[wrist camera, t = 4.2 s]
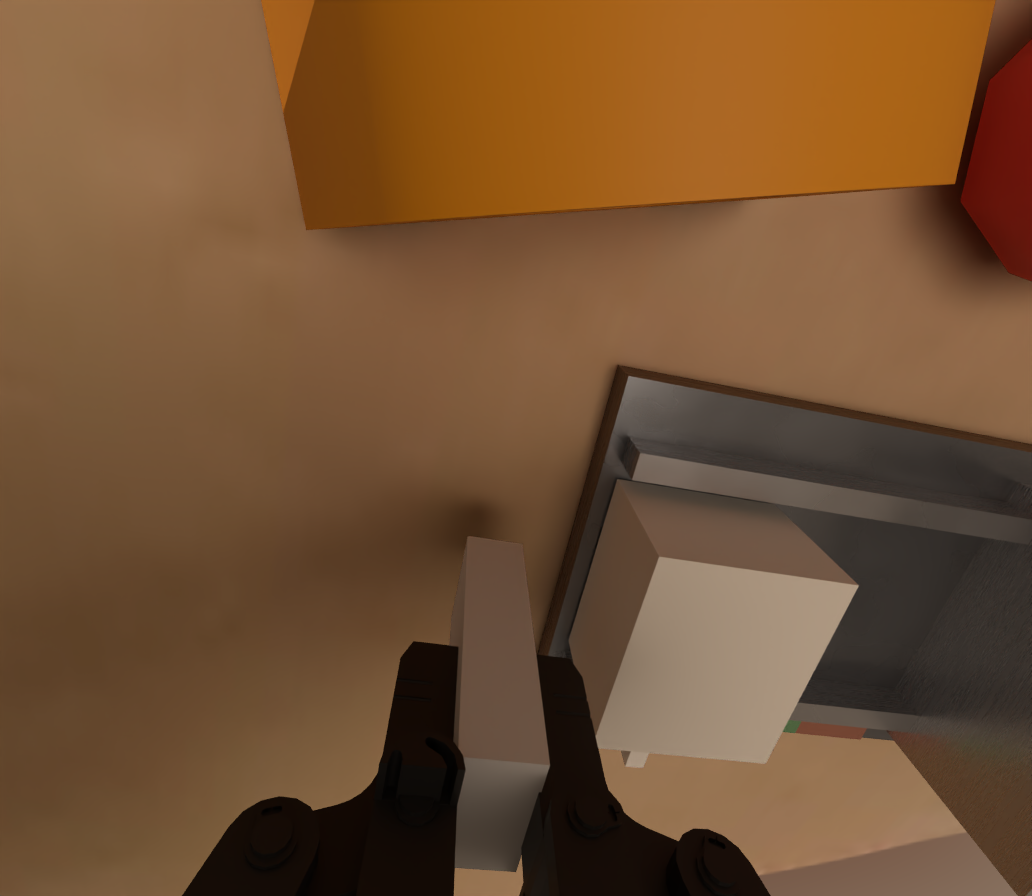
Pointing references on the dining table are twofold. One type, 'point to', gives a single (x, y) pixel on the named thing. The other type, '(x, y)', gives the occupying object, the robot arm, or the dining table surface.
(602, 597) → the cream block with peg
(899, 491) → the gauge base
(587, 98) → the bracket
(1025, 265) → the apple
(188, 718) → the dining table surface
